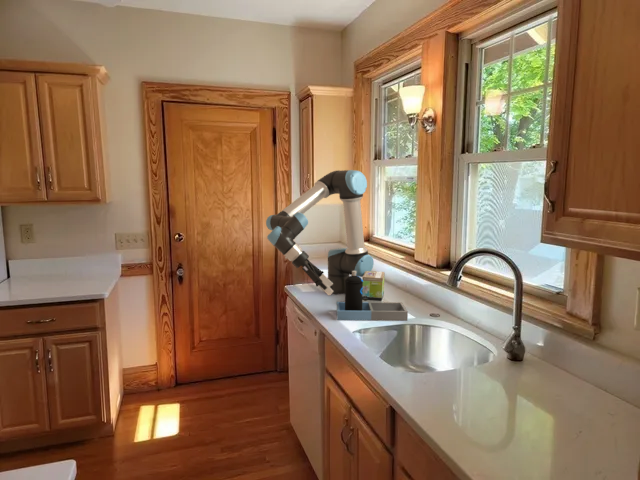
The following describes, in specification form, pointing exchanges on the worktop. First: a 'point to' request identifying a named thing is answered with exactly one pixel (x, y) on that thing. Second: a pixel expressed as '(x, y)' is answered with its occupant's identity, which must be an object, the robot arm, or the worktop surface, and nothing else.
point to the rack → (374, 311)
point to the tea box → (373, 286)
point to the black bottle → (353, 293)
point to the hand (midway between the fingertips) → (331, 289)
